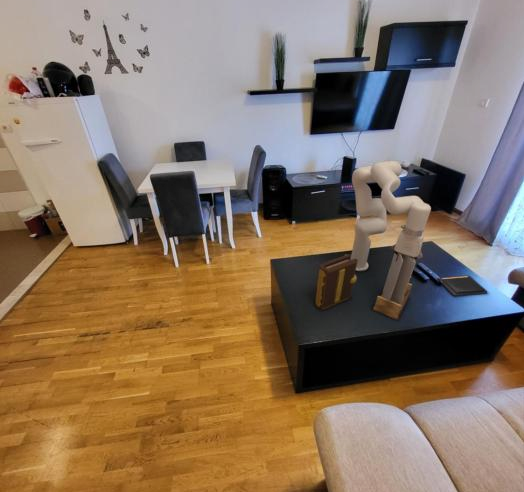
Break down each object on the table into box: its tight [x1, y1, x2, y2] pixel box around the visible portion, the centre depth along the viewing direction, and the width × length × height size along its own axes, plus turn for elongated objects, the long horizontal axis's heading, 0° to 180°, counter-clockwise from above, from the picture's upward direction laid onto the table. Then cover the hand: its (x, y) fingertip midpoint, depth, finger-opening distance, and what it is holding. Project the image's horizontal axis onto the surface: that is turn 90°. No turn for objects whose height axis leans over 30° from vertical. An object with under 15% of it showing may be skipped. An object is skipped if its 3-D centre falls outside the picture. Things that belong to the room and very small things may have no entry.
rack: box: [372, 283, 413, 321], centre depth 143 cm, size 12×20×9 cm, turn 142°
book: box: [314, 253, 358, 311], centre depth 141 cm, size 22×8×25 cm, turn 117°
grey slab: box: [382, 253, 417, 304], centre depth 136 cm, size 14×6×30 cm, turn 166°
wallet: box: [436, 275, 488, 297], centre depth 155 cm, size 20×2×15 cm
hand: (402, 264), depth 131 cm, fingers closed on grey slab, 3 cm apart
